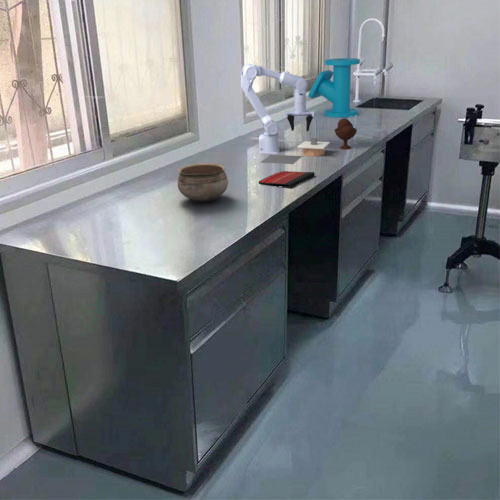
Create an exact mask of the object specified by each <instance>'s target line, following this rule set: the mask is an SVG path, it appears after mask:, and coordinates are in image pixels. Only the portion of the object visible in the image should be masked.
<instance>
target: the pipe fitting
mask: <svg viewBox="0 0 500 500" xmlns="http://www.w3.org/2000/svg"><path fill="white" fill-rule="evenodd" d="M360 62H361V59H360V58H356V57H355V58H352V57H351V58H350V57H349V58H348V57H343V58H339V57H338V58H337V57H336V58H328V59H324V65H325V66H332V67H333V68H332V70H333V71H332V70H331V69H327V70H324V71H323V70H322V71H321V72H320V73H319V74H318V76H317V77H316V79H315V81H314V83H313V85H312V87H311V89H310V90H309V92H308V98H310V99H315V98H319V97H323V98H325V100H326V99H327V101H329V102H330V103H332V108H328V109H325V110H324V112H323V115H326V116H325V117H327V116H330V117H329V118H334V117H345V118H350V117H349V116H354V117H356V116H355V115H357V116H359V109H356V108H351V76H352V75H351V73H352V71H351V70H352V69H351V68H352V66H353V65H354V66H356V65H360ZM332 77H333V78H332ZM331 79H333V80H331Z"/></svg>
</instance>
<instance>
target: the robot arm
mask: <svg viewBox="0 0 500 500" xmlns="http://www.w3.org/2000/svg"><path fill="white" fill-rule="evenodd" d="M241 68H242V69H241V71H240V87H241V88H240V89H241V90H242V92H243V94H244V95H245V97H246V98H247V100H248V101H249V103H250V104H251V107H252V109H254V111H255V113H256V114H257V115H258V117H259V119H260V121H261V123H262V127H263V130H264V132H263V133H262V134H259V138H258V154H274V155H278V153H280V151H282V150H281V149H280V148H279V145H280V144H279V130H280V129H279V128H280V127H279V124H278V123H276V122H275V120H273V119H272V117H271V116H270V114H269V113H268V111H267V109H266V108H265V106H264V104H263V103H262V101H261V99H260V98H259V96H258V95H257V94H256V92H255V90H254V88H253V85H254V81H255V80H256V78H257V77H263V76H265V77H269V78H272V79H275V80H278V82H279V84H281V85H283V86H288V87H291V88H294V89H293V90H294V93H293V95H294V96H293V97H294V98H293V100H294V101H293V103H294V104H293V106H294V110H292V111H291V110H288V111H285V116H286V119H287V120H288V123H289V125H290V128H291V131H292V132H293V131H295V117H305V120H306V129H305V130H306V132H310V127H311V123H312V120H313V119H314V117H316V112H315V111H307V91H306V90H307V87H308V82H307V80H306V79H305V78H303V77H301V76H299V75H298V74H293V73H290V71H288V70H287V71H282V72H278V71H275V70H273V69H269V68H268V67H264V66H261V65H256V64H254V65H253V64H251V63H246V64H244V65H243V67H241Z"/></svg>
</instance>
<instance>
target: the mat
mask: <svg viewBox="0 0 500 500" xmlns="http://www.w3.org/2000/svg"><path fill="white" fill-rule="evenodd" d="M301 158H303V155H290V154H289V155H286V154H285V155H284V154H282V155H280V154H270V155H268V156H267V157H265V158H264V159H263V160H261V161H260V163H263V164H279V165H280V164H281V165H294V164H296V162H297V161H299V160H300V159H301Z"/></svg>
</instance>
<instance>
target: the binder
mask: <svg viewBox="0 0 500 500" xmlns="http://www.w3.org/2000/svg"><path fill="white" fill-rule="evenodd" d="M314 177H315V172H314V171H312V172H311V171H288V170H286V171H285V170H283V171H279V172H276V173H273V174H271V175H269V176H266V177H264V178H263V179H260V180H258V185H263V186H269V187H275V186H276V188H280V187H279V186H290V187H289V189H292V188H294V187H296V186H298V185H300V184H302V183H304V182H306V181H307V179H308V180H310V179H312V178H314ZM305 180H306V181H305ZM303 181H304V182H303ZM301 182H302V183H301ZM299 183H300V184H299ZM297 184H298V185H297Z"/></svg>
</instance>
